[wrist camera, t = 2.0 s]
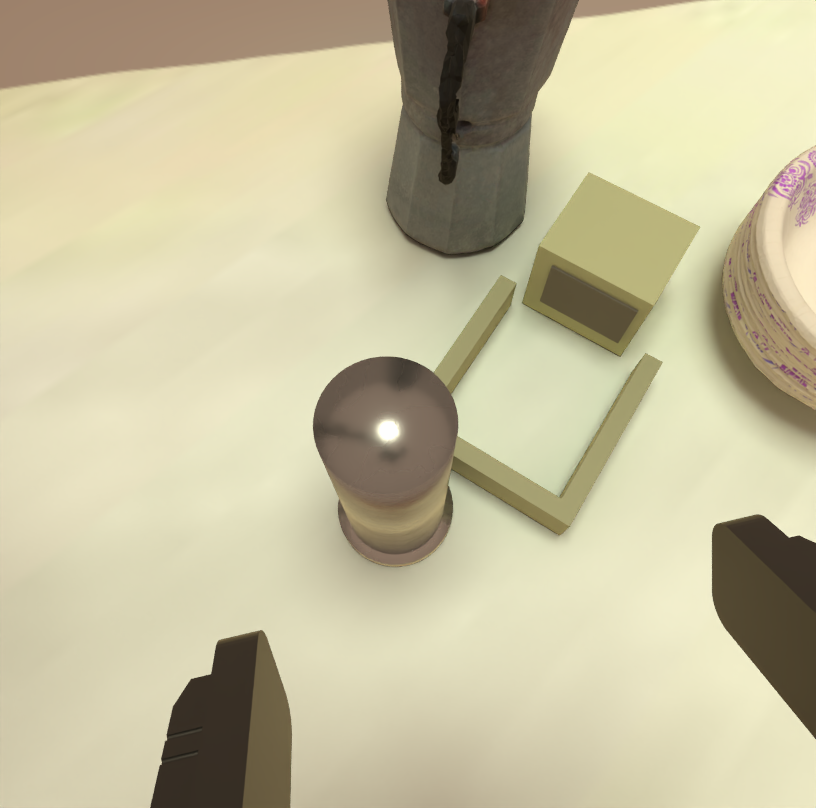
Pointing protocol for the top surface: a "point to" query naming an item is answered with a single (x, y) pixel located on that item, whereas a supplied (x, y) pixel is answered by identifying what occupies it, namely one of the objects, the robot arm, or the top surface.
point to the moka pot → (468, 114)
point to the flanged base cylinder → (389, 457)
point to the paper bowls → (778, 280)
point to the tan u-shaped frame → (580, 324)
